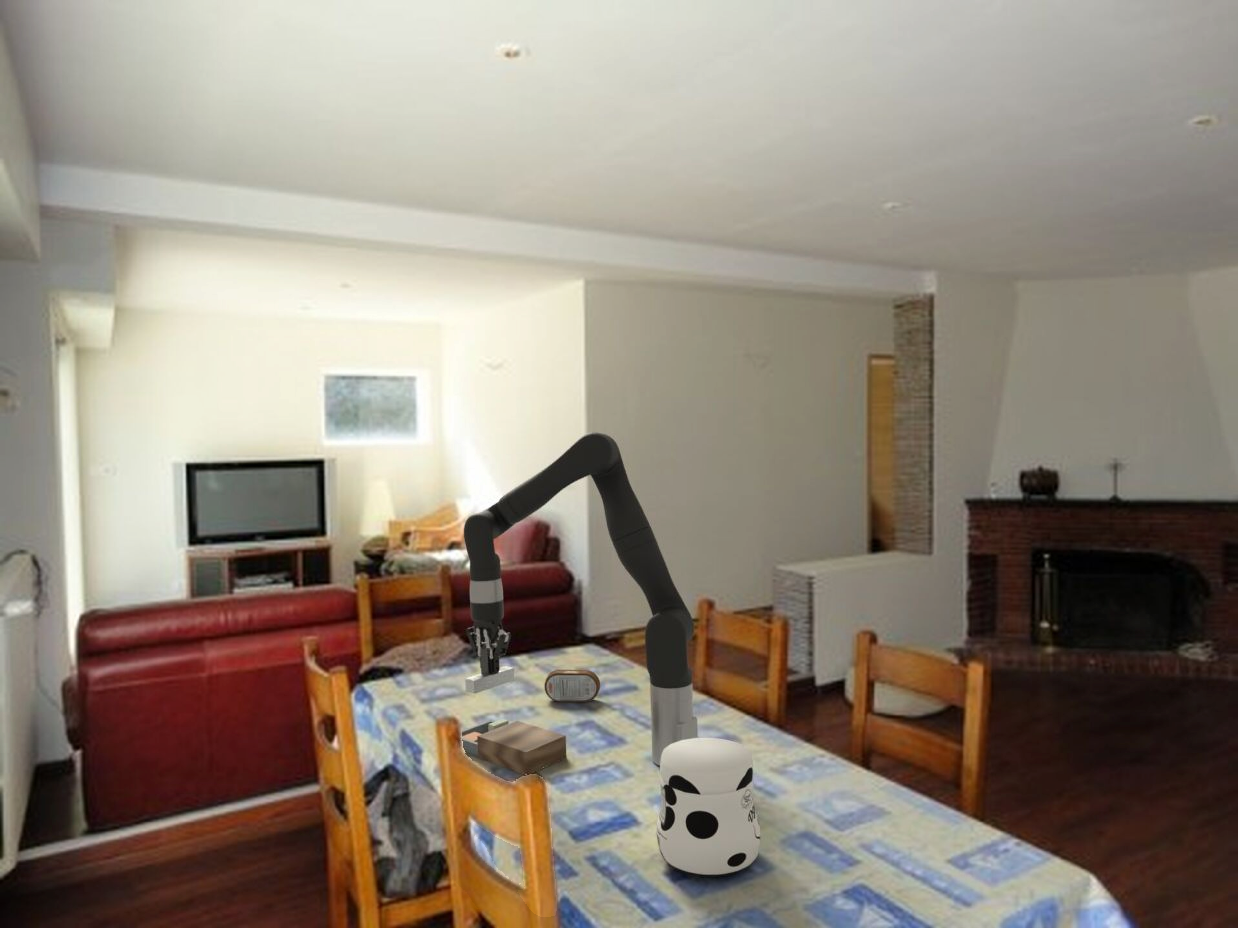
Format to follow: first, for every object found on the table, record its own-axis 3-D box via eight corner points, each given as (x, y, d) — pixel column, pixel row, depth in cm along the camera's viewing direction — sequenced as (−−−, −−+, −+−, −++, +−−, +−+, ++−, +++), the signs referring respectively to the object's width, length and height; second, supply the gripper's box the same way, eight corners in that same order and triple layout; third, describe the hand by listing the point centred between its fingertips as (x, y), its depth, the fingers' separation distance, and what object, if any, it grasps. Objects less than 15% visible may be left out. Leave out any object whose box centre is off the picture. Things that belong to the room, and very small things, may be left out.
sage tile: (508, 720, 196) (502, 718, 197) (493, 725, 192) (488, 724, 194) (509, 739, 196) (503, 737, 197) (494, 744, 192) (488, 743, 194)
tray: (519, 740, 196) (518, 728, 196) (478, 757, 187) (477, 744, 187) (491, 731, 203) (491, 719, 203) (450, 747, 193) (449, 734, 193)
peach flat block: (474, 731, 196) (475, 739, 196) (459, 737, 193) (459, 745, 193) (487, 735, 193) (487, 744, 193) (471, 741, 190) (472, 750, 190)
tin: (600, 699, 225) (599, 668, 225) (599, 703, 222) (598, 672, 222) (546, 699, 227) (545, 668, 226) (543, 703, 223) (542, 672, 223)
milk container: (782, 859, 139) (779, 753, 138) (712, 900, 128) (709, 785, 127) (706, 824, 152) (703, 727, 151) (636, 858, 141) (633, 754, 140)
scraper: (514, 680, 195) (512, 642, 195) (474, 693, 186) (472, 654, 186) (505, 678, 197) (504, 640, 197) (465, 691, 188) (463, 652, 188)
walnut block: (566, 757, 185) (565, 735, 185) (526, 775, 176) (526, 752, 176) (517, 741, 196) (517, 720, 196) (478, 757, 187) (477, 735, 186)
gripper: (519, 598, 189) (522, 673, 190) (479, 592, 198) (483, 664, 199) (494, 604, 184) (497, 681, 184) (454, 598, 193) (458, 671, 193)
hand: (490, 672), depth 192 cm, fingers closed on scraper, 2 cm apart
